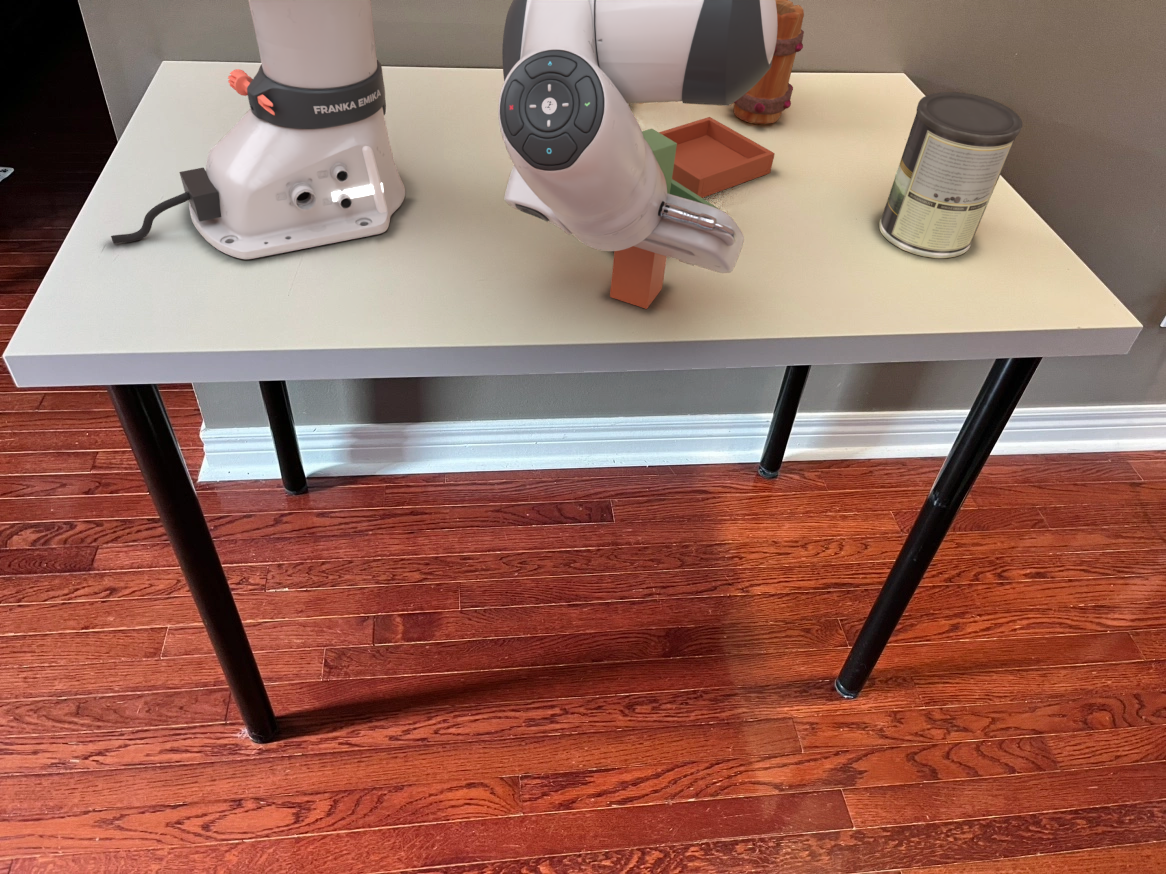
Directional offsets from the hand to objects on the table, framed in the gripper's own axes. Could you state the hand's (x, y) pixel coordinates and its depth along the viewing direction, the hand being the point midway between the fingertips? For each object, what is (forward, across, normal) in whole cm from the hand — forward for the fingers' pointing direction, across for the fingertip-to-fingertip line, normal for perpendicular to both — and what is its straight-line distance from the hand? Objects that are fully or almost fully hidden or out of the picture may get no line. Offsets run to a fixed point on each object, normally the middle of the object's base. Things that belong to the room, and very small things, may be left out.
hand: (644, 241), depth 83 cm
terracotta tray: (+24, +4, -16) cm, 29 cm away
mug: (+38, +3, -30) cm, 49 cm away
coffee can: (+24, -24, -15) cm, 37 cm away
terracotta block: (+4, 0, +4) cm, 6 cm away
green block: (+12, +5, -5) cm, 14 cm away
